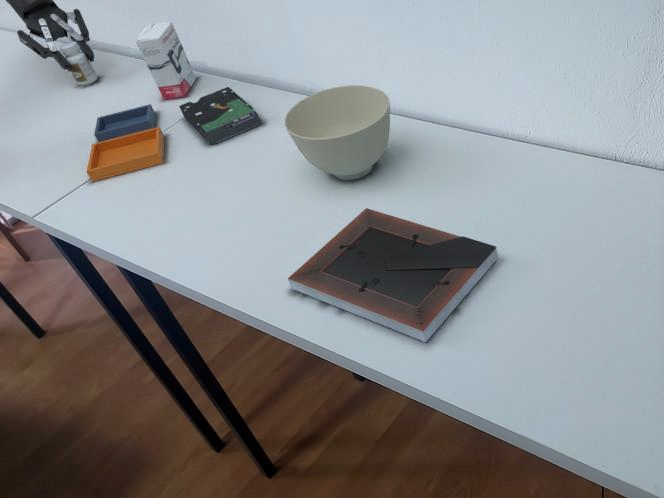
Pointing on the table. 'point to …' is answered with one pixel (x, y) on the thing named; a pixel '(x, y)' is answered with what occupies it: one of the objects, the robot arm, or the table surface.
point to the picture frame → (395, 272)
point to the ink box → (166, 59)
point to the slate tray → (125, 123)
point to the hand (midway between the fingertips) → (81, 63)
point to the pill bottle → (78, 63)
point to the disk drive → (220, 115)
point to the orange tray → (126, 154)
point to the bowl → (341, 129)
